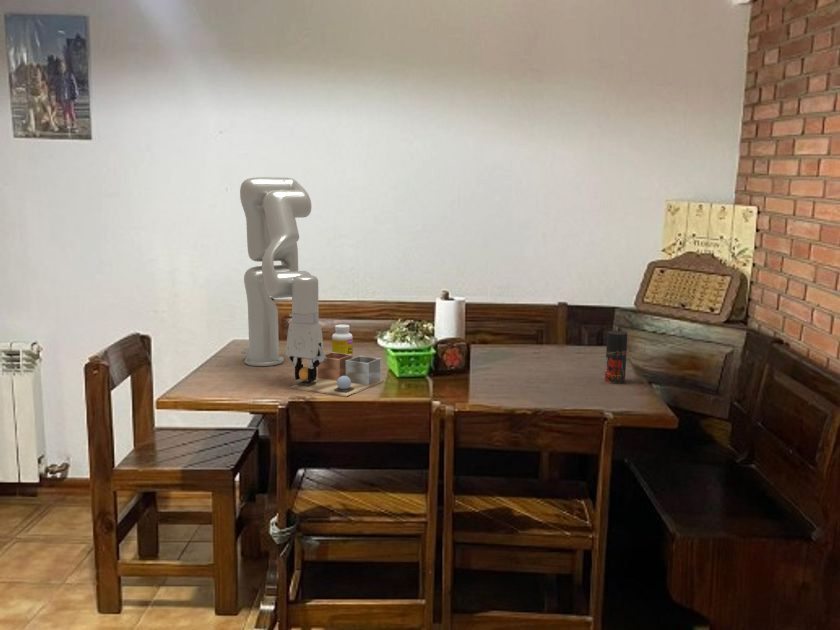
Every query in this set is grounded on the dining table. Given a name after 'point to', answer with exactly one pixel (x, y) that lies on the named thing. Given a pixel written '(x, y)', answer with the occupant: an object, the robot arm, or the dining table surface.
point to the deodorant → (616, 357)
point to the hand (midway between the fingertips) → (305, 379)
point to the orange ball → (304, 373)
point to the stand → (344, 374)
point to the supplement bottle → (342, 340)
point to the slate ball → (344, 382)
